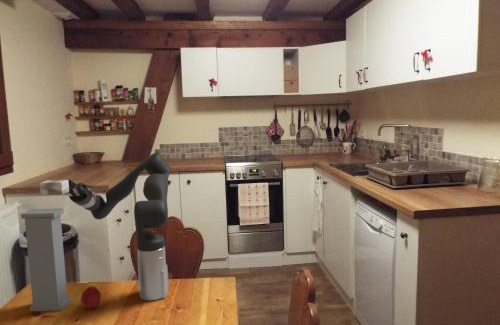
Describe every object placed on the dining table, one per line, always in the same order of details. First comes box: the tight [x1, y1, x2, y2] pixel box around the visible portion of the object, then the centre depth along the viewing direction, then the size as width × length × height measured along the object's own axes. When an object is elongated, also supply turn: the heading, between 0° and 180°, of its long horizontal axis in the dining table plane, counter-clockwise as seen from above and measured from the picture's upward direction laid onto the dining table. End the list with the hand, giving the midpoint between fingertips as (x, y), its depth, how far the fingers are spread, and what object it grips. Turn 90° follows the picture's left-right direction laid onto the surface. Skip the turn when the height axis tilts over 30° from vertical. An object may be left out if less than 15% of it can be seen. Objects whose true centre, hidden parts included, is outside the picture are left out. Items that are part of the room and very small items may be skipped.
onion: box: [80, 283, 102, 309], centre depth 118 cm, size 6×6×8 cm
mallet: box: [39, 179, 70, 196], centre depth 128 cm, size 7×14×4 cm, turn 2°
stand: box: [20, 208, 72, 312], centre depth 117 cm, size 10×6×32 cm, turn 92°
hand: (63, 182), depth 130 cm, fingers closed on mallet, 2 cm apart
